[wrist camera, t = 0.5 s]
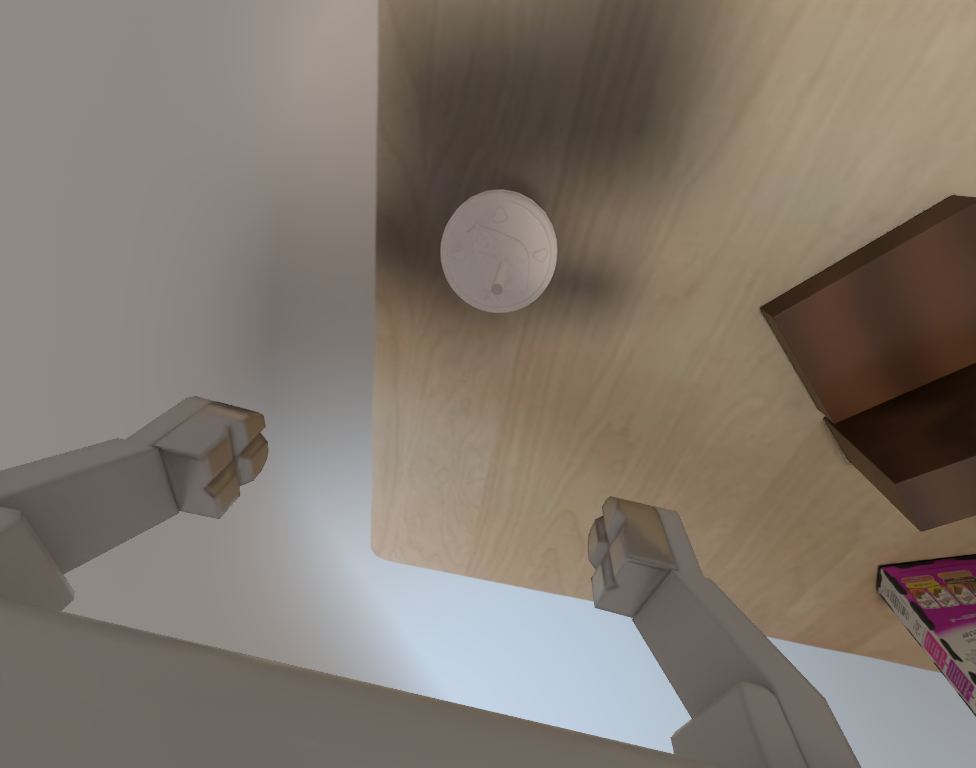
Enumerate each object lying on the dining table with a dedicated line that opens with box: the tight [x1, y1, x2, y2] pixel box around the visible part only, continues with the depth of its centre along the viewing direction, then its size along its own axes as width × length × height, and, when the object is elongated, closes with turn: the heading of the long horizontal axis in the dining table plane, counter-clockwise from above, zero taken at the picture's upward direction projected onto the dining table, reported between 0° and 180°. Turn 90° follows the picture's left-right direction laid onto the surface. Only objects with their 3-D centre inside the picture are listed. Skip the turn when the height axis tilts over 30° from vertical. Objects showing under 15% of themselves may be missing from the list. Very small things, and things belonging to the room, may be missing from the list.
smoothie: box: [440, 189, 557, 313], centre depth 23 cm, size 6×6×14 cm
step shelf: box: [760, 195, 976, 531], centre depth 27 cm, size 12×19×8 cm, turn 42°
